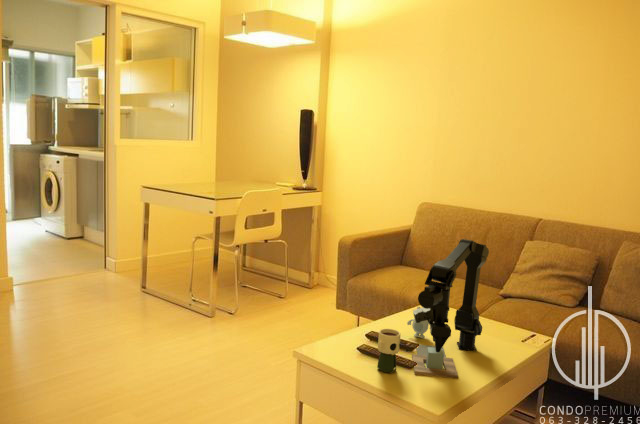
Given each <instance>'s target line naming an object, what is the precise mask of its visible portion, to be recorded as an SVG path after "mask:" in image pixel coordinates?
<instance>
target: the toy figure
mask: <svg viewBox="0 0 640 424" xmlns="http://www.w3.org/2000/svg"><path fill="white" fill-rule="evenodd" d="M419 308H421V307H420V306H417V308H416V309H419ZM406 324H407V326H412V329H413V331H414V332H415V333H414V334H413V337H414V338H420V339H425V335H424V334H425V333H426V332H427V331H428V329H429V328H430V327H431V325H430V324H429V322H428V321H427V320H426V321H422V322H420V323H416V321H415V318H413V319H410V320H408V321H407V323H406Z"/></svg>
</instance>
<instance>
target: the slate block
mask: <svg viewBox="0 0 640 424" xmlns="http://www.w3.org/2000/svg"><path fill="white" fill-rule="evenodd" d="M443 359H444V353H443V349H441V350H440V352H436V349H435V348H433V347H427V357H426V362H425V365H426V366H425V368H433V369H443V367H444V365H443ZM443 370H444V369H443Z"/></svg>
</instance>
